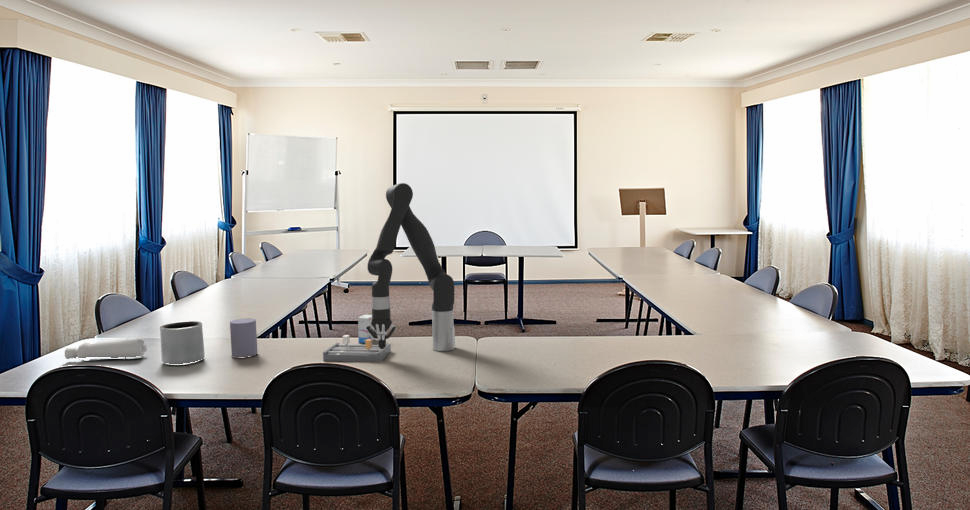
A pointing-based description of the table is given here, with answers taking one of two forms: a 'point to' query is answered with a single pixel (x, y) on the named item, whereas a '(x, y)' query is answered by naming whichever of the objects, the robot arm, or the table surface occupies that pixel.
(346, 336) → the fader rear
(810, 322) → the table surface
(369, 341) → the fader front
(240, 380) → the table surface
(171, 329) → the planter
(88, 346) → the bottle
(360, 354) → the console
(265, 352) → the table surface
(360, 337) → the ink box
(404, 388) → the table surface
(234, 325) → the container
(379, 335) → the robot arm
